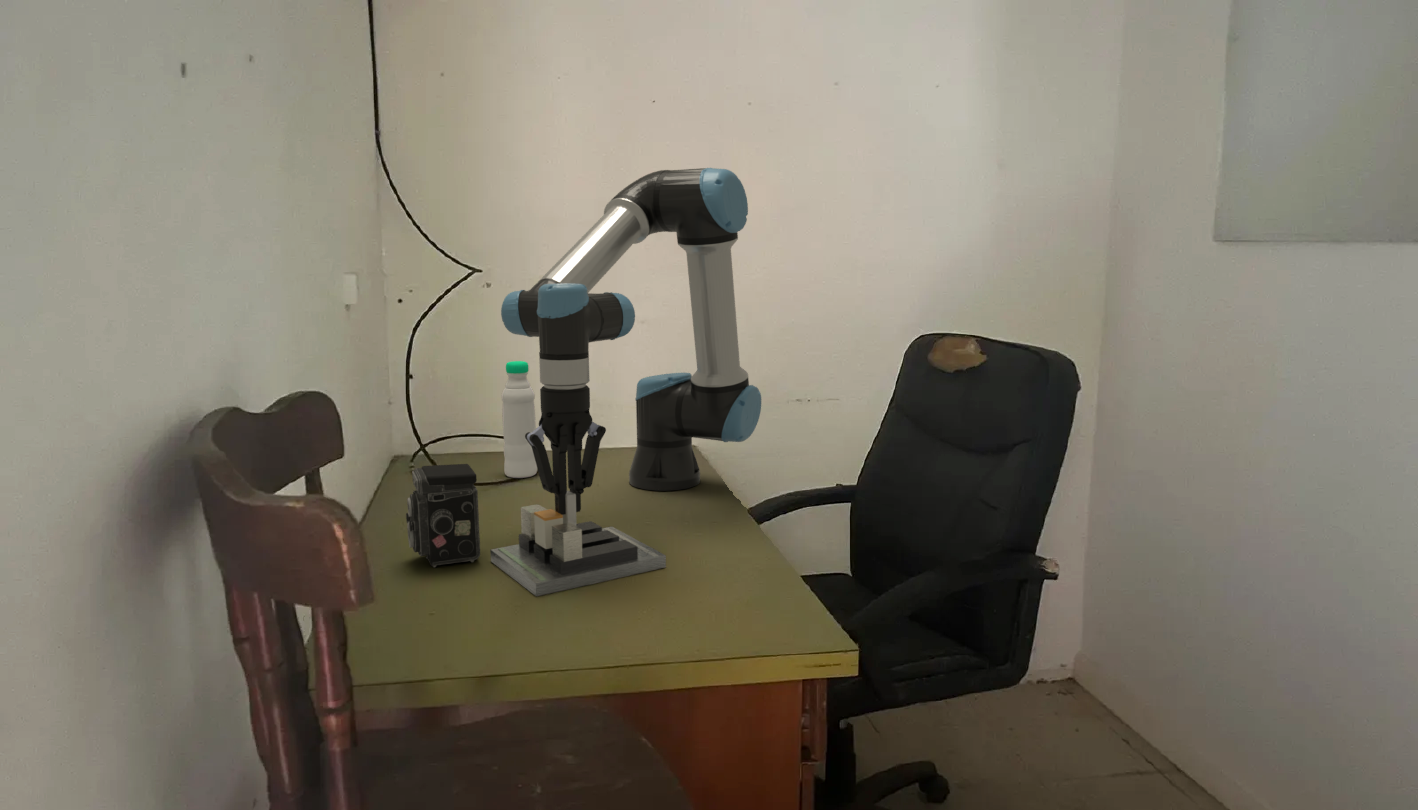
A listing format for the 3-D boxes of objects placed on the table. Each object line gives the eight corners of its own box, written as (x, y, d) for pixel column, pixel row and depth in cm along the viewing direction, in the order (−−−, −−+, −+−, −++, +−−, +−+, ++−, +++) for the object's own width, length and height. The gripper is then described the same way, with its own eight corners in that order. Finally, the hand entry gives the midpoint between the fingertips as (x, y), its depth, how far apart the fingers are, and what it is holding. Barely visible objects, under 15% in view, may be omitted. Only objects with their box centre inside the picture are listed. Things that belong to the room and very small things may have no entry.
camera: (406, 554, 154) (401, 465, 152) (471, 546, 159) (467, 459, 156) (413, 574, 145) (408, 480, 142) (482, 565, 149) (478, 474, 147)
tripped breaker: (552, 538, 149) (551, 509, 148) (563, 545, 146) (562, 515, 145) (535, 542, 147) (534, 512, 146) (545, 549, 144) (544, 518, 143)
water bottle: (521, 469, 211) (517, 358, 207) (544, 473, 207) (540, 361, 203) (497, 475, 205) (493, 362, 201) (520, 480, 201) (516, 364, 197)
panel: (612, 537, 163) (611, 490, 162) (665, 567, 148) (665, 515, 147) (490, 561, 151) (488, 510, 150) (536, 596, 136) (534, 540, 135)
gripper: (591, 378, 150) (594, 520, 155) (515, 385, 143) (520, 533, 147) (614, 384, 144) (616, 532, 148) (535, 392, 137) (540, 546, 141)
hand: (568, 532), depth 148 cm, fingers closed
